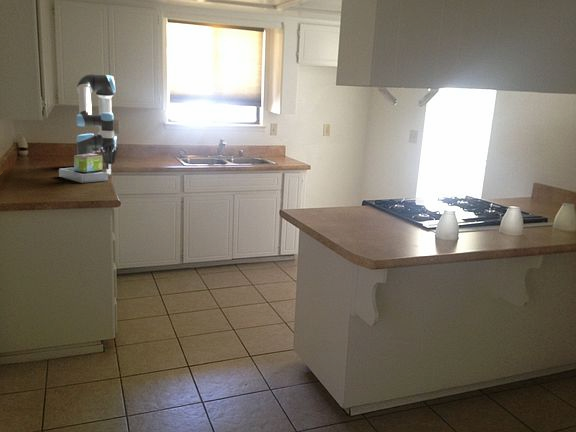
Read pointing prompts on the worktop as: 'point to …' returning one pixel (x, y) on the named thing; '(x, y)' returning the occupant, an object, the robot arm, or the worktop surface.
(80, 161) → the tea box
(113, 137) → the robot arm
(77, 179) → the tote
